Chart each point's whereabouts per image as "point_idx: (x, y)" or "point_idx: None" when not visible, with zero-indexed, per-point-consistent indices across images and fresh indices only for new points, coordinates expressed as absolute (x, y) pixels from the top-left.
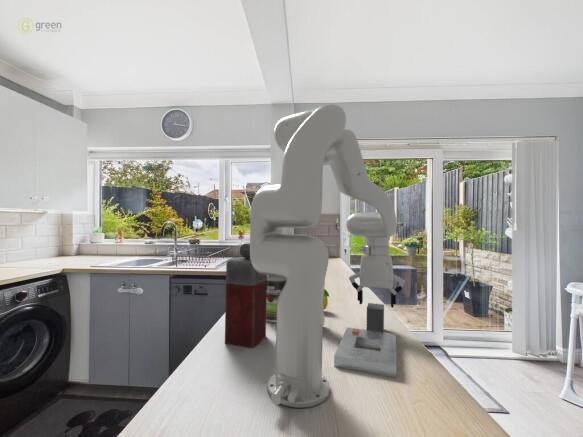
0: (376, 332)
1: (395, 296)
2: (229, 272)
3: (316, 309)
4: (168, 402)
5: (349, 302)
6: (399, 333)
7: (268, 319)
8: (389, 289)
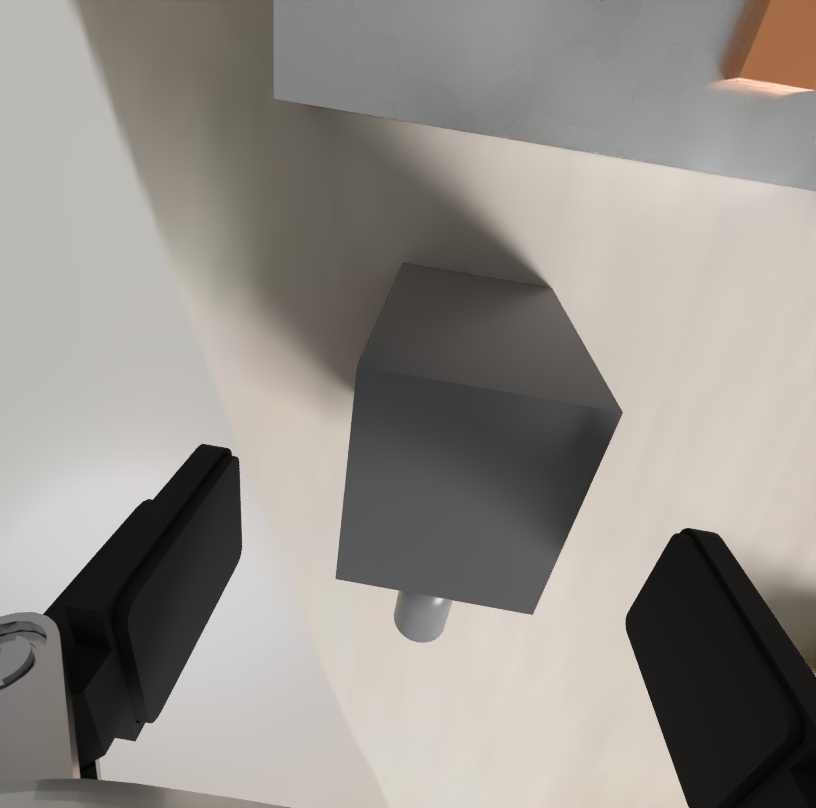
0: (496, 90)
1: (64, 599)
2: None
3: None
4: None
5: (550, 788)
6: (264, 349)
7: None
8: (67, 771)
